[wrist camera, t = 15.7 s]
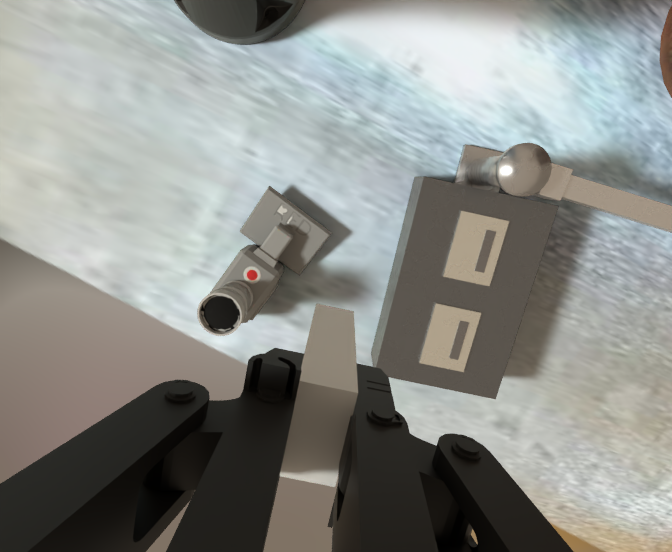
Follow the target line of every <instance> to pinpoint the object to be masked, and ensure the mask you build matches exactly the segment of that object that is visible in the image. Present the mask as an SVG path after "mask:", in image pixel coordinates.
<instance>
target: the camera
mask: <svg viewBox="0 0 672 552" xmlns="http://www.w3.org/2000/svg"><path fill="white" fill-rule="evenodd" d="M240 232H241V233H242V234H244V235H245V236H246V237H248V238H249V239H251V240H252V241H253V242H255V243H256V244H257V245H259V246H260V247H257V246H256V245H248V246H246V247H245V248H243V249H242V250H240V252H239V253H238V255H237V256H236V257H235V259H234V260H233V262H232V263H231V264H230V266H229V267H228V269H227V270H226V271H225V273H224V274H223V276H222V277H221V278H220V280H219V281H218V283H217V284H216V285H215V287H214V288H213V289H212V291H211V292H210V294H208V295H207V296H206V297H205V298H204V299H203V300H202V301H201V302H200V304H199V307H198V311H197V315H198V320H199V323H200V324H201V326H202V327H203V328H204V329H205V330H206V331H207V332H209V333H211V334H213V335H217V336H225V335H229V334H231V333H233V332H234V331H235V330H236V329H237V328H238V327H239V326H240V324H241V323H246V322H248V320H253V319H254V317H255V316H256V315H257V313H258V312H259V311H260V309H261V308H262V307H263V305H264V304H265V303H266V301H267V300H268V299H269V297H270V296H271V295H272V293H273V292H274V291H275V289H276V288H277V286H278V285H279V283H280V281H279V279H280V277H281V276H282V274H283V273H284V268H283V265H282V264H280V263H279V262H278V260H279V261H281V262H282V263H283V264H285V265H286V266H287V267H289V268H290V269H291V270H293V271H294V272H296V273H297V274H298V275H300V274H301V273H302V271H303V270H304V269H305V268H306V266H307V265H308V264H309V262H310V261H311V260H312V259H313V257H314V256H315V255H316V253H317V252H318V251H319V250H320V248H321V247H322V246H323V244H324V243H325V242H326V241H327V239H328V238H329V237H330V235H331V234H332V233H331V232H330V231H329V230H327V229H326V228H325V227H323V226H322V225H321V224H320V223H318V222H317V221H316V220H314V219H313V218H312V217H310V216H309V215H308V214H306V213H305V212H304V211H302V210H301V209H300V208H298V207H297V206H296V205H294V204H293V203H292V202H290V201H289V200H288V199H286V198H285V197H284V196H282V195H281V194H280V193H278V192H277V191H276V190H275V189H273V188H272V187H271V186H269V187H268V189H267V190H266V192H265V193H264V195H263V196H262V198H261V199H260V201H259V202H258V204H257V205H256V207H255V209H254V210H253V212H252V213H251V215H250V216H249V218H248V219H247V221H246V222H245V224H244V225H243V227H242V228H241V230H240Z"/></svg>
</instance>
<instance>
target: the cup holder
mask: <svg viewBox="0 0 672 552" xmlns="http://www.w3.org/2000/svg"><path fill="white" fill-rule="evenodd" d="M660 65H661V70H662V75H663V80H664V84H665V86H666V88H667V90H668V92H669V94H670V96H671V98H672V6H671V8H670V10H669V12H668V15H667V19H666V22H665V25H664V28H663V32H662V35H661V47H660Z"/></svg>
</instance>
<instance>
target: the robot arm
mask: <svg viewBox="0 0 672 552" xmlns="http://www.w3.org/2000/svg"><path fill="white" fill-rule="evenodd" d="M174 1H175V3H176V4H177V6H178V7H179V8H180V10H181V11H182V12H183V13H184V14H185V15H186V16H187V17H188V18H189V19H190V20H191V21H192V22H193V23H194V24H195V25H196V26H197V27H198V28H199V29H200V30H202V31H203V32H205V33H206V34H208V35H210V36H211V37H213V38H215V39H218V40H220V41H223V42H227V43H232V44H253V43H258V42H261V41H264V40H267V39H269V38H271V37H273V36H275V35H276V34H278V33H279V32H281V31H282V30H283V29H285V28H286V27H287V26H288V25H289V24H290V23H291V22H292V21H293V19H294V18H295V17H296V15H297V14H298V13H299V11H300V9H301V8H302V6H303V4H304V2H305V0H174ZM338 473H339V479H338V487H337V491H336V495H335V499H334V503H333V507H332V511H331V515H330V519H329V523H328V527H331V528H332V526H333V536H332V552H573V551H572V549H571V548H570V547H569V546H568V545H567V543H566V542H565V541H564V540H563V539H562V537H561V536H560V535H559V534H558V533H557V531H556V530H555V529H554V528H553V527H552V525H551V524H550V523H549V522H548V521H547V519H546V518H545V517H544V516H543V515H542V513H541V512H540V511H539V510H538V509H537V507H536V506H535V505H534V504H533V503H532V501H531V500H530V499H529V498H528V497H527V495H526V494H525V493H524V492H523V491H522V490H521V488H520V487H519V486H518V485H517V484H516V482H515V481H514V480H513V479H512V478H511V476H510V475H509V474H508V473H507V472H506V470H505V469H504V468H503V467H502V466H501V464H500V463H499V462H498V461H497V460H496V458H495V457H494V456H493V455H492V454H491V452H490V451H488V450H487V449H486V448H485V447H484V446H483V445H482V444H480V443H478V442H477V441H475V440H474V439H472V438H470V437H467V436H464V435H458V434H444V435H443V436H441V437H439V440H438V444H437V446H435V445H433V444H430V443H428V442H425V441H423V440H421V439H419V438H417V437H415V436H413V435H411V434H410V433H409V429H408V425H407V422H406V420H405V418H404V417H403V416H402V415H401V414H399V413H398V412H397V411H395V406H394V402H393V397H392V394H391V387H390V383H389V378H388V376H387V375H386V374H385V373H384V372H383V371H382V369H381V368H376V367H371V366H366V365H361V364H357V363H356V346H355V328H354V311H349V310H345V309H340V308H335V307H330V306H326V305H321V304H316V307H315V311H314V316H313V320H312V324H311V328H310V332H309V337H308V341H307V345H306V349H305V353H304V354H302V353H298V352H293V351H288V350H283V349H278V348H274V349H272V350H270V351H269V352H267V353H266V354H259V355H255V356H253V357H251V358H250V359H249V361H248V366H247V372H246V378H245V383H244V389H243V392H242V394H241V396H240V397H239V398H236V399H232V400H224V401H209V392H208V391H207V390H206V388H205V387H204V386H202V385H200V384H197V383H195V382H190V381H188V380H174V381H168V382H163V383H161V384H159V385H156V386H155V387H153V388H151V389H150V390H148V391H147V392H145V393H144V394H142V395H140V396H139V397H137V398H136V399H134V400H132V401H131V402H130V403H128V404H126V405H124V406H123V407H122V408H120V409H118V410H117V411H115V412H114V413H112V414H111V415H109V416H107V417H105V418H104V419H102V420H101V421H99V422H98V423H96V424H94V425H93V426H91V427H90V428H88V429H87V430H85V431H84V432H82V433H80V434H79V435H77V436H75V437H74V438H72V439H71V440H69V441H68V442H66V443H64V444H63V445H61V446H59V447H58V448H56V449H55V450H53V451H52V452H50V453H49V454H47V455H45V456H44V457H42V458H40V459H39V460H37V461H36V462H34V463H33V464H31V465H29V466H28V467H26V468H25V469H23V470H21V471H20V472H18V473H17V474H15V475H14V476H12V477H11V478H9V479H7V480H6V481H4V482H2V483H1V484H0V552H146V551H147V550H148V548H149V547H150V546H151V545H152V544H153V543H154V542H155V540H156V539H157V538H158V537H159V536H160V535H161V533H162V532H163V531H164V529H166V528H167V526H168V525H169V524H170V523H171V522H172V520H174V518H175V517H176V516H177V515H178V514H179V512H180V511H181V510H182V509H183V508H184V507H185V506H186V504H187V503H188V502H189V501H190V500H191V501H190V503H189V505H188V507H187V509H186V511H185V513H184V515H183V517H182V519H181V522H180V524H179V526H178V528H177V530H176V532H175V534H174V536H173V538H172V540H171V543H170V544H169V547H168V549H167V551H166V552H263V550H264V545H265V541H266V537H267V532H268V527H269V523H270V517H271V513H272V509H273V505H274V500H275V495H276V491H277V486H278V481H279V477H280V476H283V477H287V478H292V479H297V480H302V481H307V482H312V483H317V484H322V485H327V486H332V487H335V485H336V481H337V477H338ZM472 529H473V530H474V532H475V534H476V537H477V541H478V545H477V544H476V542H475V541H474V539H473V538H472V536H471V531H472Z"/></svg>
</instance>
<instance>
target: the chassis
mask: <svg viewBox="0 0 672 552" xmlns="http://www.w3.org/2000/svg"><path fill="white" fill-rule="evenodd" d="M557 209H558V206H556V205H552V204H547V203H542V202H538V201H533V200H529V199H524V198H520V197H515V196H510V195H506V194H501V193H497V192H492V191H488V190H483V189H478V188H474V187H469V186H465V185H460V184H456V183H451V182H446V181H442V180H437V179H433V178H428V177H414V182H413V186H412V190H411V194H410V198H409V202H408V206H407V210H406V214H405V218H404V222H403V226H402V230H401V234H400V238H399V242H398V246H397V250H396V254H395V258H394V262H393V266H392V271H391V275H390V279H389V283H388V287H387V291H386V295H385V299H384V303H383V307H382V311H381V315H380V319H379V323H378V327H377V331H376V335H375V339H374V343H373V347H372V351H371V355H372V362H373V367H376V368H381V369H382V371H383V372H384V373H385V374H386V375H387V376H388V377H391V378H396V379H401V380H405V381H410V382H415V383H420V384H425V385H430V386H434V387H439V388H444V389H449V390H454V391H459V392H463V393H468V394H473V395H478V396H483V397H488V398H492V399H496V396H497V393H498V390H499V387H500V384H501V381H502V378H503V375H504V371H505V368H506V365H507V362H508V359H509V356H510V353H511V350H512V347H513V344H514V341H515V338H516V335H517V332H518V329H519V326H520V323H521V319H522V316H523V313H524V310H525V307H526V304H527V301H528V298H529V295H530V292H531V289H532V286H533V283H534V280H535V277H536V274H537V270H538V267H539V264H540V261H541V258H542V255H543V252H544V249H545V246H546V243H547V240H548V237H549V234H550V231H551V228H552V225H553V222H554V218H555V215H556V212H557Z"/></svg>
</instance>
